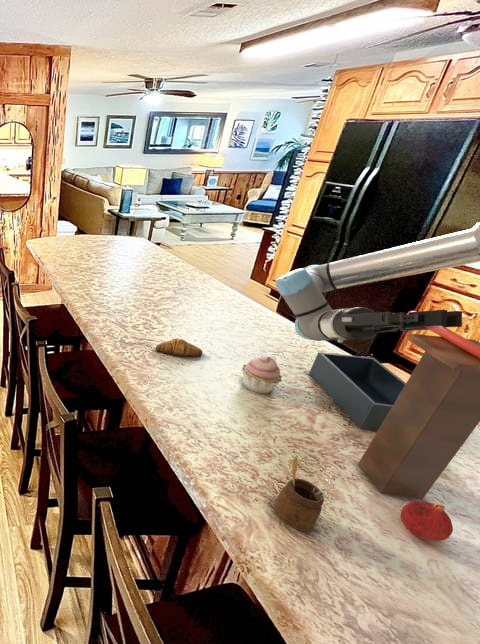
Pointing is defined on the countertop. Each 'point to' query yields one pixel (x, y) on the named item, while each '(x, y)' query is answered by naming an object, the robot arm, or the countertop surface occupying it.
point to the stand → (426, 420)
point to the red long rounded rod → (455, 339)
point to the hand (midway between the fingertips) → (451, 318)
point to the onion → (427, 520)
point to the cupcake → (261, 374)
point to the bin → (358, 386)
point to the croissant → (179, 348)
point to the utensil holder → (299, 502)
